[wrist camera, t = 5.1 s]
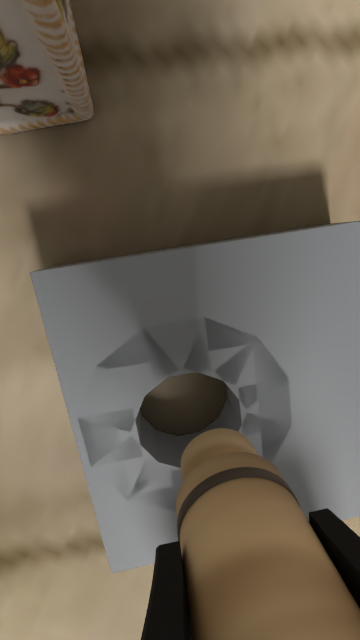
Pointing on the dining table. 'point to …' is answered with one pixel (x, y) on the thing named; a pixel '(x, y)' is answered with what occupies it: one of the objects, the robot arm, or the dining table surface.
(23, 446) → the dining table surface
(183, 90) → the dining table surface
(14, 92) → the decorative jar
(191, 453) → the oak peg
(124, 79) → the dining table surface
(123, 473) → the grey peg hole board
